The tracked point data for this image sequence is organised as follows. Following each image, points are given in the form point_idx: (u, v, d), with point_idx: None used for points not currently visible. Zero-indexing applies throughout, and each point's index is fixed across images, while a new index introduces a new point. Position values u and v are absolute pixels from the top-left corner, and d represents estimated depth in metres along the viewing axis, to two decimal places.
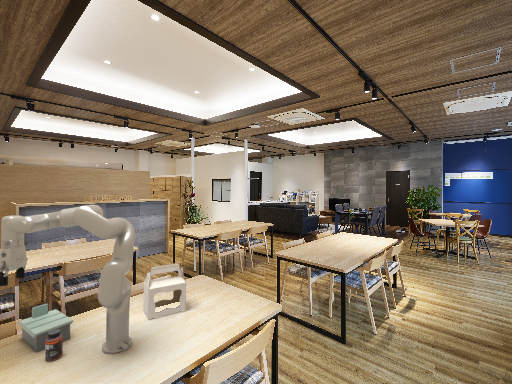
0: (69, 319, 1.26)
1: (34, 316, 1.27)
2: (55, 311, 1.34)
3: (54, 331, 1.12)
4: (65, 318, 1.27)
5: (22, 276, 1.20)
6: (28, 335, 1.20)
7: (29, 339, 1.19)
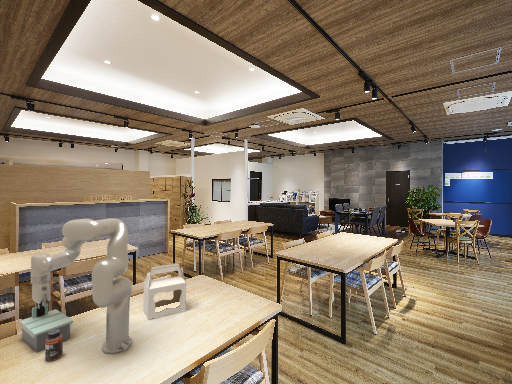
0: (69, 319, 1.26)
1: (34, 316, 1.27)
2: (55, 311, 1.34)
3: (54, 331, 1.12)
4: (65, 318, 1.27)
5: None
6: (28, 335, 1.20)
7: (29, 339, 1.19)
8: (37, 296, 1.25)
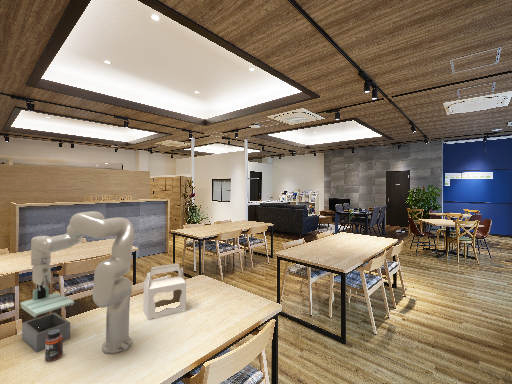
0: (70, 300, 1.26)
1: (35, 298, 1.26)
2: (56, 294, 1.34)
3: (54, 331, 1.12)
4: (66, 300, 1.27)
5: None
6: (28, 335, 1.20)
7: (29, 339, 1.19)
8: (38, 278, 1.25)
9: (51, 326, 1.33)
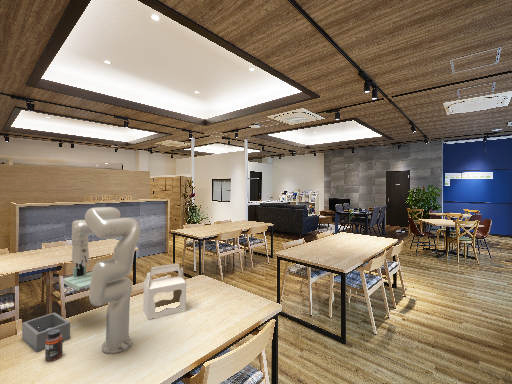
0: None
1: (75, 275, 1.41)
2: None
3: (54, 331, 1.12)
4: None
5: None
6: (28, 335, 1.20)
7: (29, 339, 1.19)
8: (78, 257, 1.40)
9: (51, 326, 1.33)
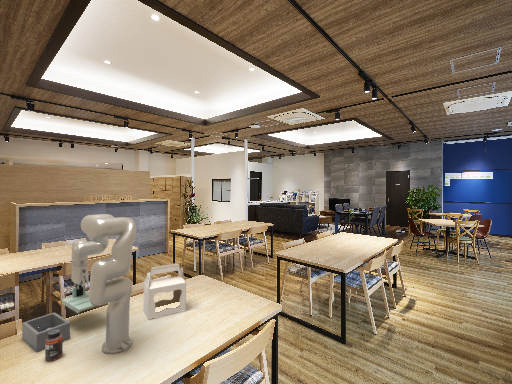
0: None
1: (74, 296, 1.41)
2: None
3: (54, 331, 1.12)
4: None
5: None
6: (28, 335, 1.20)
7: (29, 339, 1.19)
8: (77, 278, 1.40)
9: (51, 326, 1.33)
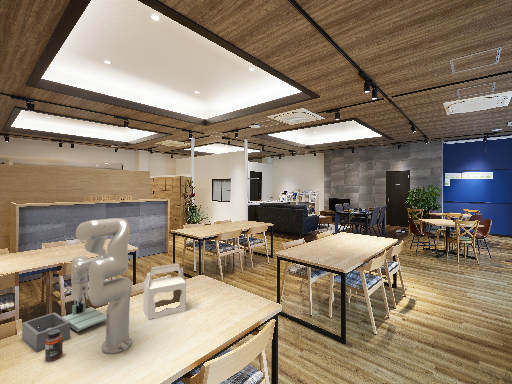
0: None
1: (74, 313, 1.41)
2: (91, 308, 1.49)
3: (54, 331, 1.12)
4: (102, 315, 1.42)
5: None
6: (28, 335, 1.20)
7: (29, 339, 1.19)
8: (77, 295, 1.40)
9: (51, 326, 1.33)
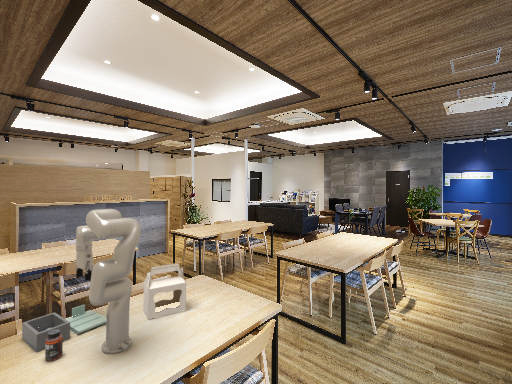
0: (105, 318, 1.41)
1: (74, 316, 1.42)
2: (91, 311, 1.49)
3: (54, 331, 1.12)
4: (101, 317, 1.42)
5: (82, 275, 1.47)
6: (28, 335, 1.20)
7: (29, 339, 1.19)
8: (82, 262, 1.40)
9: (51, 326, 1.33)
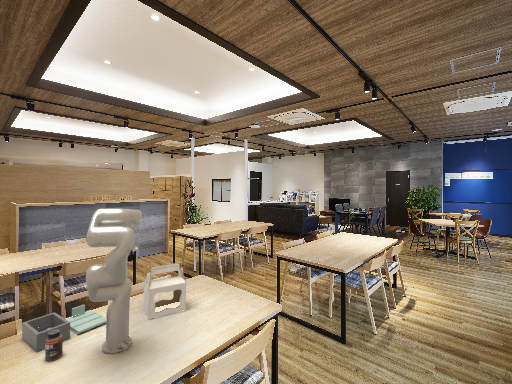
0: (105, 318, 1.41)
1: (74, 316, 1.42)
2: (91, 311, 1.49)
3: (54, 331, 1.12)
4: (101, 317, 1.42)
5: None
6: (28, 335, 1.20)
7: (29, 339, 1.19)
8: None
9: (51, 326, 1.33)
